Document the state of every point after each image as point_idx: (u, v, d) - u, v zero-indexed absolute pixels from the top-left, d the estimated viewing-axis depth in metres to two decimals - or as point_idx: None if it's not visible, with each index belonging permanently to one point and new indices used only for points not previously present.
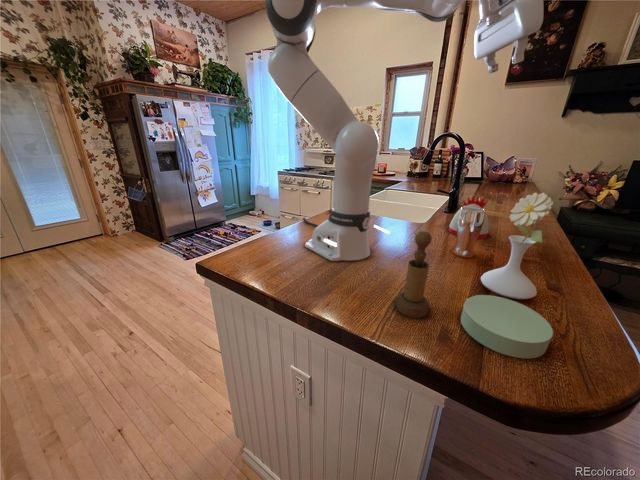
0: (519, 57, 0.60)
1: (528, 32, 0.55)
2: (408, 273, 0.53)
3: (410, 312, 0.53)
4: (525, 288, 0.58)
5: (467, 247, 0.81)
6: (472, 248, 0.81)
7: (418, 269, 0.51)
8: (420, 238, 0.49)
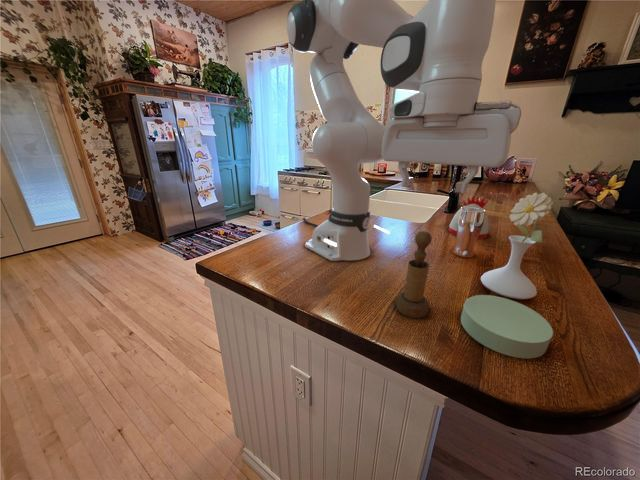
0: None
1: None
2: (408, 273, 0.53)
3: (410, 312, 0.53)
4: (525, 288, 0.58)
5: (467, 247, 0.81)
6: (472, 248, 0.81)
7: (418, 269, 0.51)
8: (420, 238, 0.49)
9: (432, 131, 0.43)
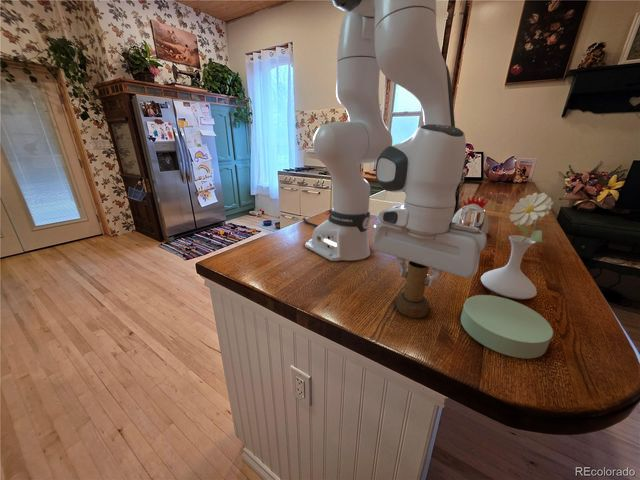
0: None
1: None
2: (408, 273, 0.53)
3: (410, 312, 0.53)
4: (525, 288, 0.58)
5: None
6: None
7: (418, 269, 0.51)
8: None
9: (415, 238, 0.50)
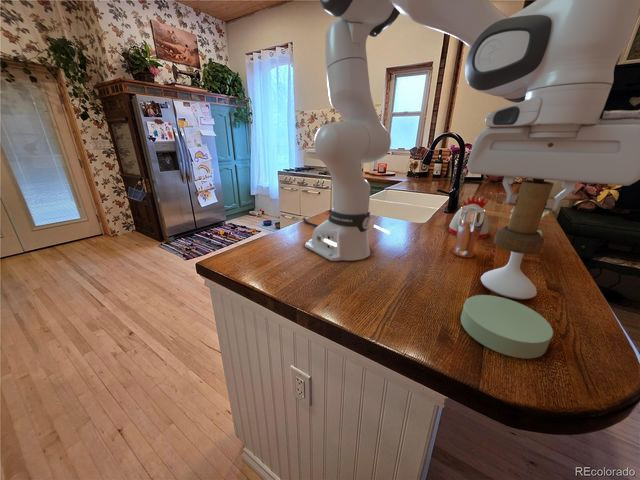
0: (507, 198, 0.43)
1: None
2: (522, 195, 0.41)
3: (522, 247, 0.41)
4: (525, 288, 0.58)
5: (467, 247, 0.81)
6: (472, 248, 0.81)
7: (542, 186, 0.39)
8: None
9: (540, 143, 0.38)
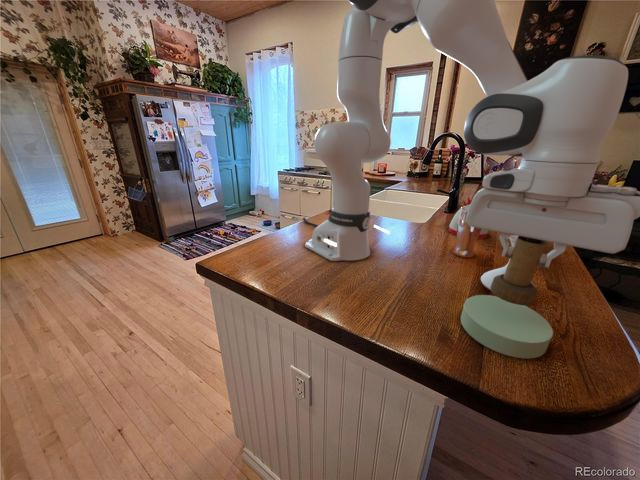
0: None
1: None
2: (517, 251, 0.44)
3: (517, 299, 0.44)
4: None
5: (467, 247, 0.81)
6: (472, 248, 0.81)
7: (535, 245, 0.41)
8: None
9: (534, 207, 0.41)
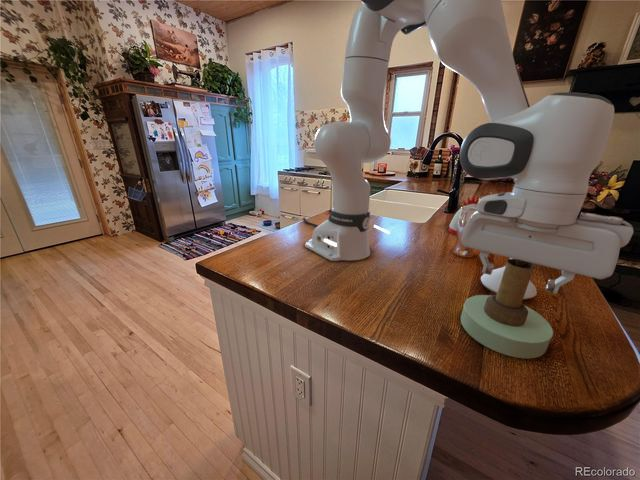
0: None
1: None
2: (507, 274, 0.45)
3: (509, 320, 0.46)
4: None
5: None
6: None
7: (524, 270, 0.43)
8: None
9: (526, 231, 0.42)
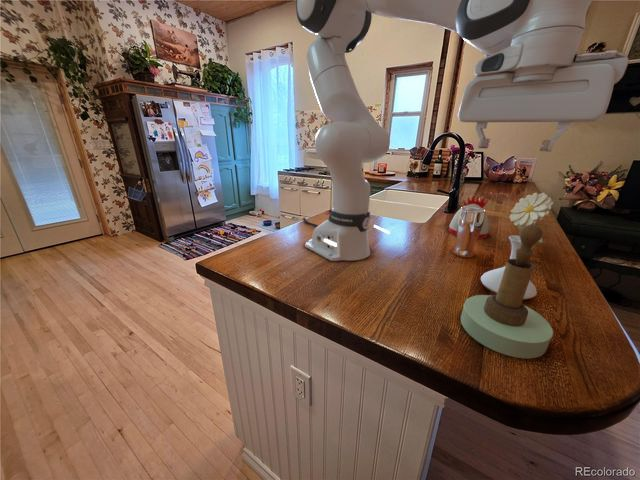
0: None
1: None
2: (507, 274, 0.45)
3: (509, 320, 0.46)
4: None
5: (467, 247, 0.81)
6: (472, 248, 0.81)
7: (524, 270, 0.43)
8: (530, 233, 0.42)
9: (522, 87, 0.42)
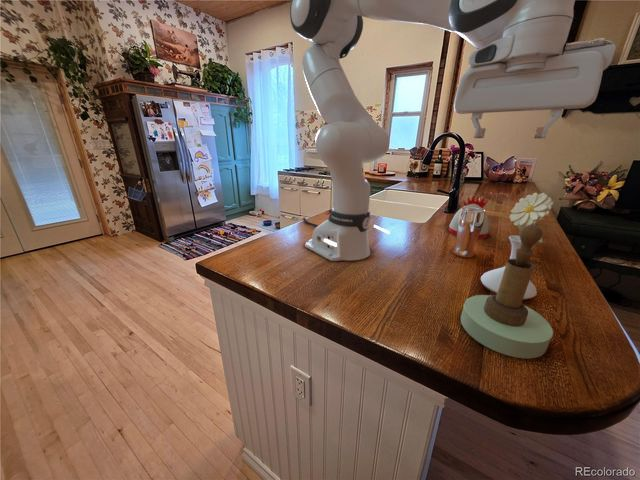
0: None
1: None
2: (507, 274, 0.45)
3: (509, 320, 0.46)
4: None
5: (467, 247, 0.81)
6: (472, 248, 0.81)
7: (524, 270, 0.43)
8: (530, 233, 0.42)
9: (515, 76, 0.44)
